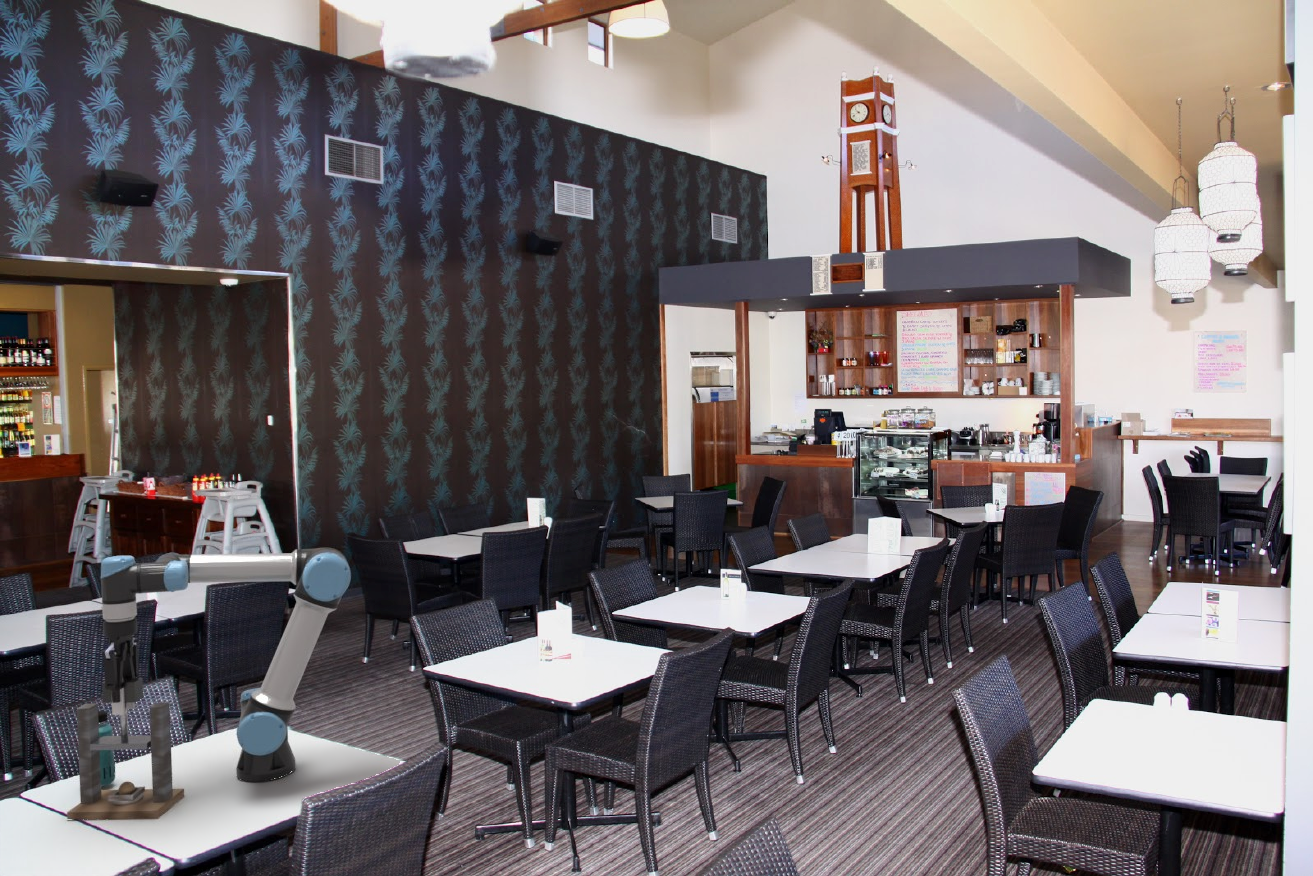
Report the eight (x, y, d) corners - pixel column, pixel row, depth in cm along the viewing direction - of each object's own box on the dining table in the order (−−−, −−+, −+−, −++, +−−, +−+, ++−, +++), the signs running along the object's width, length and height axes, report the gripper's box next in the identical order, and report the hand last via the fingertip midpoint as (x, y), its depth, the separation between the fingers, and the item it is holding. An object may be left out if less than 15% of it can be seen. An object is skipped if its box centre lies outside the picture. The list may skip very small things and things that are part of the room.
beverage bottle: (103, 793, 264) (100, 717, 263) (81, 791, 265) (78, 716, 264) (121, 783, 270) (118, 709, 269) (100, 782, 272) (97, 708, 271)
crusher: (158, 741, 256) (156, 676, 255) (147, 749, 250) (144, 683, 249) (103, 742, 256) (100, 677, 255) (90, 750, 250) (87, 684, 249)
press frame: (184, 796, 261) (180, 696, 260) (157, 818, 247) (153, 713, 246) (98, 797, 261) (94, 697, 260) (67, 820, 247) (62, 715, 246)
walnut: (137, 793, 255) (137, 779, 255) (130, 799, 252) (129, 784, 252) (123, 793, 255) (123, 779, 255) (116, 799, 252) (115, 785, 252)
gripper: (122, 611, 260) (126, 701, 261) (85, 626, 243) (89, 723, 244) (152, 611, 260) (155, 701, 261) (116, 626, 243) (120, 722, 244)
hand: (123, 711), depth 253 cm, fingers closed on crusher, 4 cm apart
